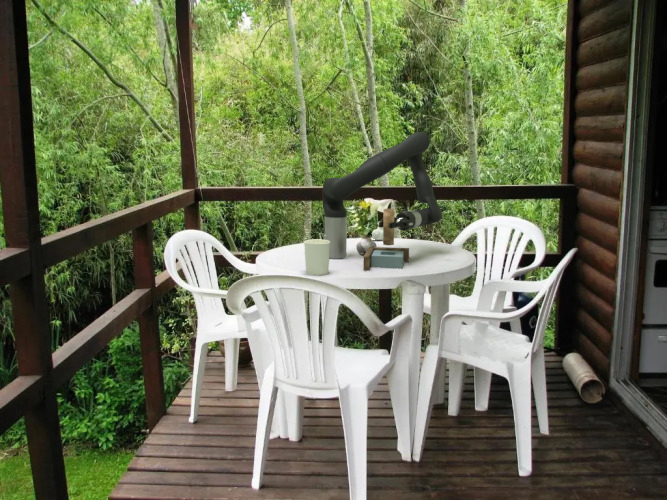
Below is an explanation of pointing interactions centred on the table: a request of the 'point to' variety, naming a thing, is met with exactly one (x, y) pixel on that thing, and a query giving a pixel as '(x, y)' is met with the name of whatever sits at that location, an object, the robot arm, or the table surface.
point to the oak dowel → (387, 232)
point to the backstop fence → (371, 249)
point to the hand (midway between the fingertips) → (384, 225)
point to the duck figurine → (378, 233)
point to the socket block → (387, 259)
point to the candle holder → (317, 256)
